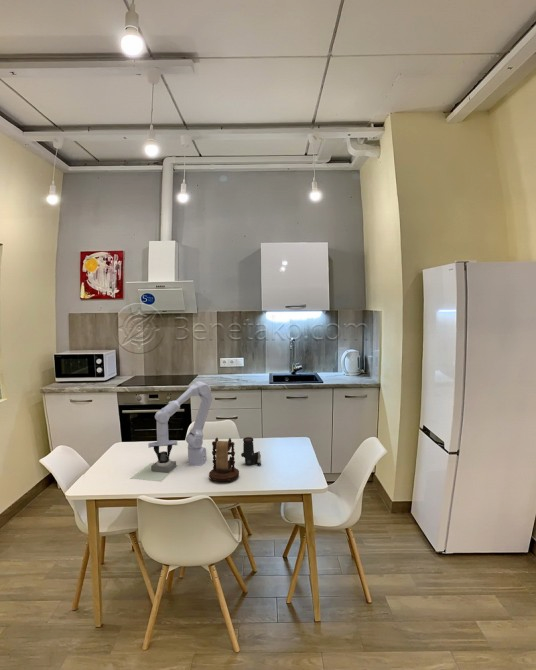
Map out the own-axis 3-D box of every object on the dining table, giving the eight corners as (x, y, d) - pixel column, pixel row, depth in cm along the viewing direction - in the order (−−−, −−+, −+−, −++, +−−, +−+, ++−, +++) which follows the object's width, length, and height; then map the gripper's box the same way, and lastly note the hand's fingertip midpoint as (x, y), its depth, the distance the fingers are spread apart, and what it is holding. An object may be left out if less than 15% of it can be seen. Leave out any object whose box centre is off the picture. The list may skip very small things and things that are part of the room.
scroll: (205, 483, 199) (203, 442, 197) (214, 470, 214) (213, 432, 212) (235, 484, 197) (233, 443, 195) (242, 472, 211) (241, 433, 209)
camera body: (176, 466, 218) (176, 459, 218) (169, 473, 210) (168, 465, 210) (159, 465, 221) (158, 457, 220) (151, 471, 213) (151, 463, 213)
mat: (179, 466, 220) (179, 465, 220) (161, 482, 201) (160, 481, 201) (151, 463, 224) (151, 463, 224) (130, 479, 205) (129, 478, 205)
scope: (260, 440, 217) (241, 441, 215) (261, 466, 218) (242, 467, 217) (258, 435, 225) (240, 436, 224) (259, 460, 226) (240, 461, 225)
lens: (169, 461, 217) (168, 451, 216) (165, 464, 213) (164, 454, 212) (162, 461, 218) (161, 450, 217) (158, 464, 214) (157, 453, 213)
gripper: (177, 430, 219) (178, 455, 220) (148, 432, 217) (149, 458, 218) (176, 434, 212) (177, 460, 214) (147, 437, 210) (148, 463, 211)
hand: (163, 459), depth 215 cm, fingers closed on lens, 4 cm apart
